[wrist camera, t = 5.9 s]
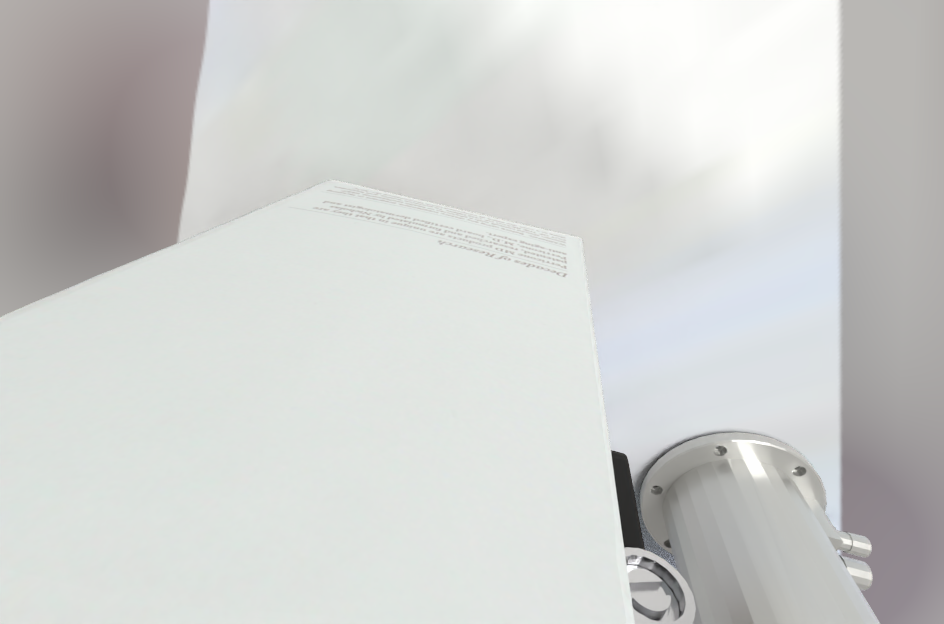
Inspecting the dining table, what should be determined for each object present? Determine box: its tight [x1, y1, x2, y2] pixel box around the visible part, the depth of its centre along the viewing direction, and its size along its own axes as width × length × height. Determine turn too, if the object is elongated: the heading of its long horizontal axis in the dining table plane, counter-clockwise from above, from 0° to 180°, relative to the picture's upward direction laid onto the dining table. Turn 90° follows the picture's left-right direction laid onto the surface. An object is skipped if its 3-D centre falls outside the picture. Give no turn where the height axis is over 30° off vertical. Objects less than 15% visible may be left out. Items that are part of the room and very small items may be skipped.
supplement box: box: [0, 180, 635, 624], centre depth 9 cm, size 7×7×13 cm
